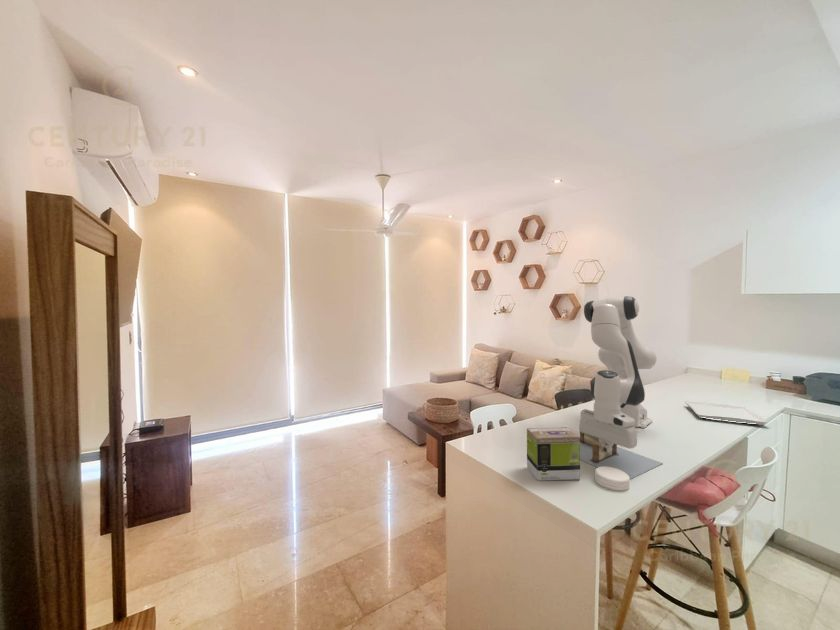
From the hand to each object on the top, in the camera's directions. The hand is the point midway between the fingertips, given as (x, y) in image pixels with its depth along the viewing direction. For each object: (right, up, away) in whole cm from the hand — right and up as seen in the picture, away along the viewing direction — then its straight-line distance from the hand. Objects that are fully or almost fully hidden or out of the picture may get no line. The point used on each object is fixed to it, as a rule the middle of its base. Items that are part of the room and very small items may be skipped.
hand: (605, 451), depth 126 cm
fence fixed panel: (+4, -4, +13) cm, 14 cm away
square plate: (+93, -4, +55) cm, 108 cm away
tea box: (-23, -5, -8) cm, 25 cm away
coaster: (-6, -5, -14) cm, 16 cm away
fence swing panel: (0, -4, +3) cm, 5 cm away
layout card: (+3, -4, +5) cm, 7 cm away
